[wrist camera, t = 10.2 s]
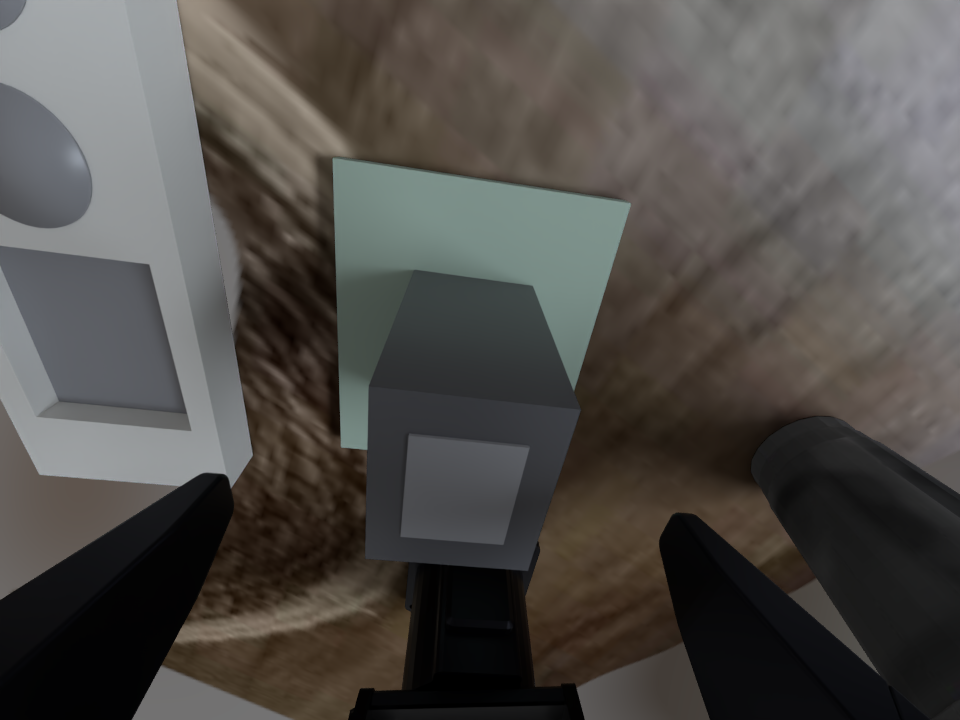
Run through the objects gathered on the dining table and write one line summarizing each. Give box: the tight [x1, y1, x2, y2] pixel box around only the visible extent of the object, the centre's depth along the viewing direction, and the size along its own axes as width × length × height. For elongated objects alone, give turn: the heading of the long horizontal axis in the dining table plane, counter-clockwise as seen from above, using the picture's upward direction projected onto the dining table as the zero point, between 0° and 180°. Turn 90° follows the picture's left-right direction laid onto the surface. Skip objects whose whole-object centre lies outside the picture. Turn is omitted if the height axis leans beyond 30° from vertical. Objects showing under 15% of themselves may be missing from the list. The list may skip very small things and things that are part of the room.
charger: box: [365, 270, 581, 571], centre depth 12 cm, size 5×4×7 cm
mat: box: [333, 157, 631, 450], centre depth 15 cm, size 11×9×1 cm
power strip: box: [0, 0, 253, 488], centre depth 12 cm, size 20×7×3 cm, turn 172°
